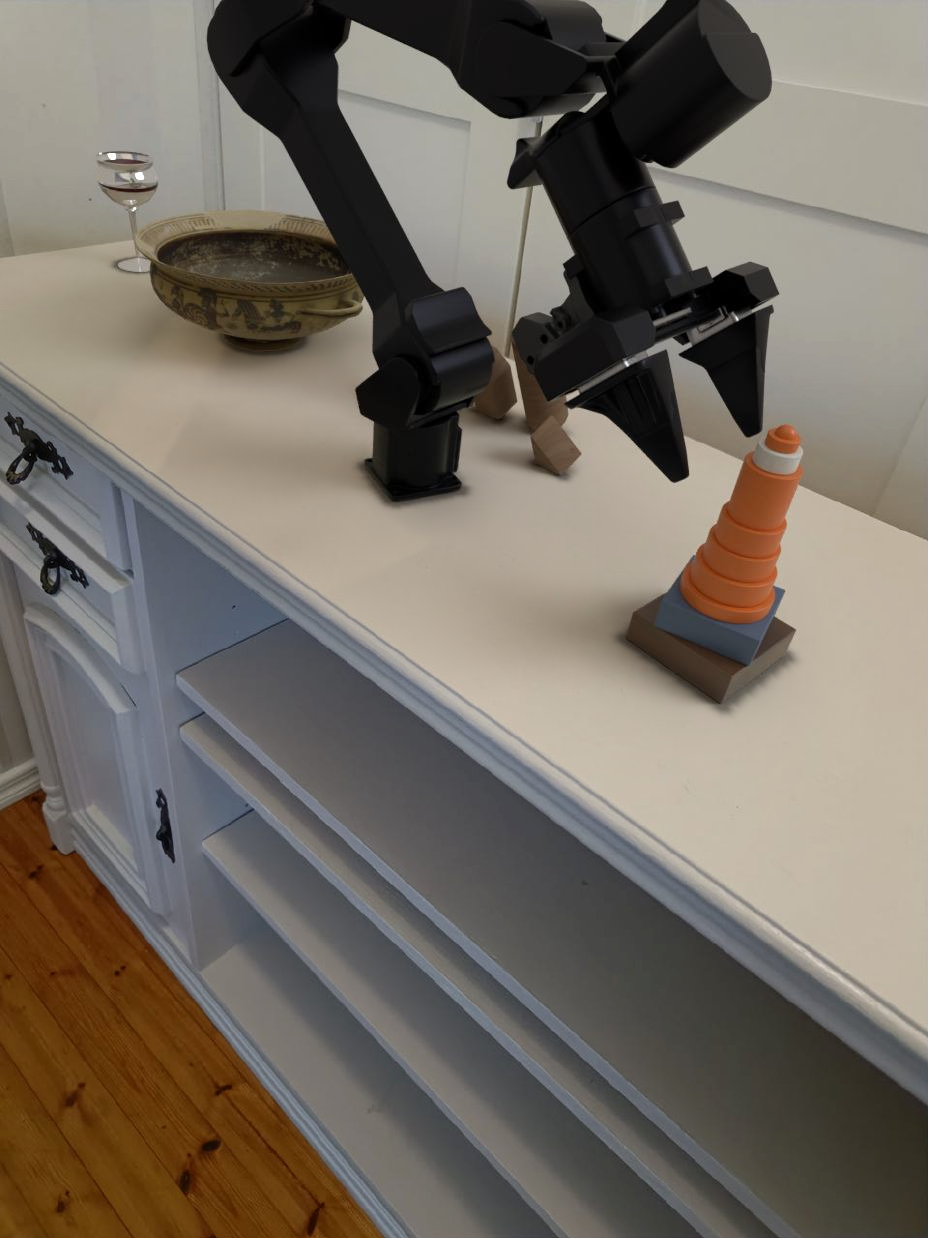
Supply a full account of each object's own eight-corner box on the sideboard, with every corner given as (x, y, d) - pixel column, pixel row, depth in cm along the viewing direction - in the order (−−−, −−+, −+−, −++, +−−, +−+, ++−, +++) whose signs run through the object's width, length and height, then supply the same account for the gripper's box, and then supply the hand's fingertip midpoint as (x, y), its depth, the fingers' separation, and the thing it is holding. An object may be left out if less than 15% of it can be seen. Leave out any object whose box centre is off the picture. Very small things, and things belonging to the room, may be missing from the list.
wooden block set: (422, 421, 86) (394, 337, 78) (477, 369, 88) (456, 283, 80) (563, 489, 77) (549, 402, 68) (620, 429, 79) (613, 339, 71)
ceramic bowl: (437, 364, 91) (445, 268, 85) (243, 418, 78) (236, 309, 71) (278, 277, 107) (275, 191, 101) (93, 310, 93) (76, 212, 87)
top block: (749, 667, 54) (760, 641, 53) (652, 626, 56) (661, 600, 55) (775, 614, 59) (786, 589, 57) (685, 579, 61) (693, 553, 60)
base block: (720, 704, 55) (732, 677, 53) (625, 638, 59) (632, 611, 57) (785, 655, 59) (797, 629, 58) (691, 597, 63) (700, 571, 62)
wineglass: (135, 252, 109) (120, 147, 101) (179, 264, 107) (168, 158, 99) (97, 265, 104) (79, 156, 96) (143, 278, 102) (128, 167, 94)
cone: (699, 625, 53) (763, 450, 46) (666, 568, 58) (719, 400, 50) (786, 623, 54) (862, 451, 47) (747, 567, 59) (811, 402, 51)
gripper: (604, 262, 62) (691, 456, 64) (426, 312, 51) (539, 546, 53) (731, 170, 54) (828, 397, 55) (551, 205, 42) (681, 490, 44)
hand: (719, 456), depth 52 cm, fingers open, 9 cm apart
